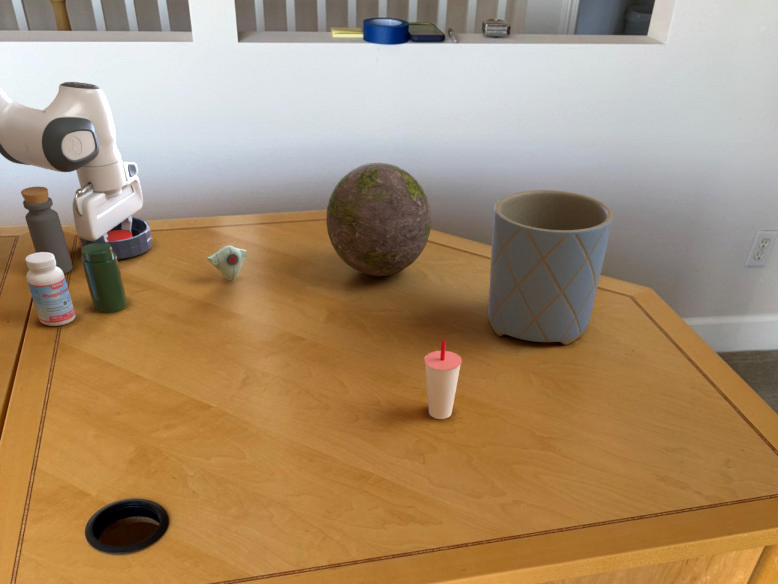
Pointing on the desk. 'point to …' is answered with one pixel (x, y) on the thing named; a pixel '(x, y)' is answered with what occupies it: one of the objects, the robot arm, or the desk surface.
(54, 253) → the bottle
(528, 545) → the desk surface
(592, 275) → the planter
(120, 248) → the bowl
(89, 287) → the green jar
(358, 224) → the decorative stone
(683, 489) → the desk surface
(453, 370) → the cup
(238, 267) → the robot head
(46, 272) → the pill bottle
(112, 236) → the cap
